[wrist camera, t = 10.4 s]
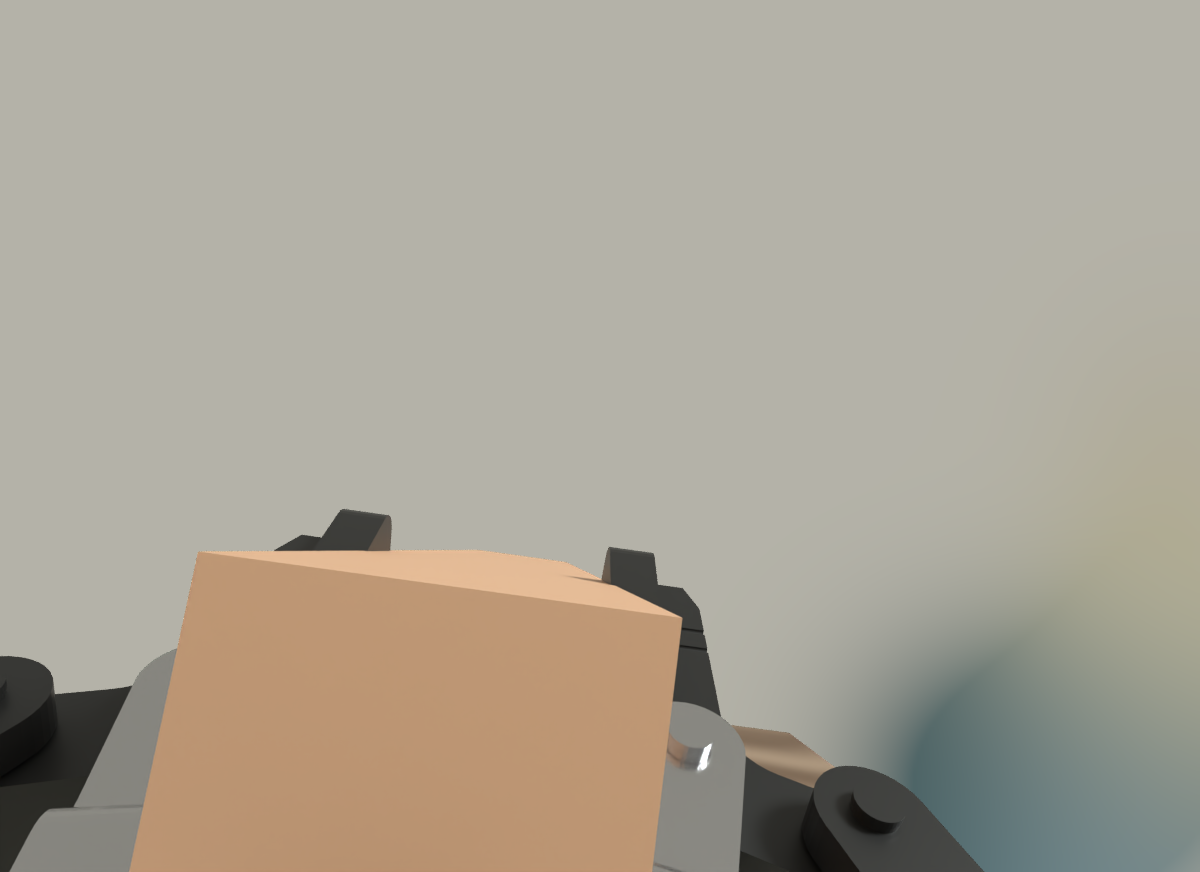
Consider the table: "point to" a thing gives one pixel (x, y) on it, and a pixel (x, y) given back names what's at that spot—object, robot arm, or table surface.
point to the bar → (410, 717)
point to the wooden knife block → (783, 755)
